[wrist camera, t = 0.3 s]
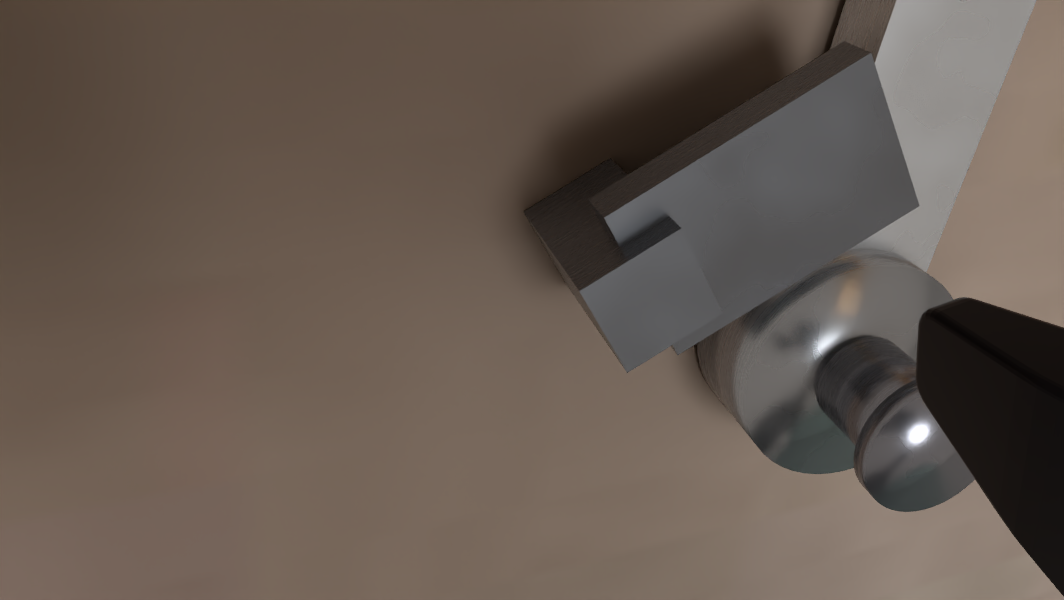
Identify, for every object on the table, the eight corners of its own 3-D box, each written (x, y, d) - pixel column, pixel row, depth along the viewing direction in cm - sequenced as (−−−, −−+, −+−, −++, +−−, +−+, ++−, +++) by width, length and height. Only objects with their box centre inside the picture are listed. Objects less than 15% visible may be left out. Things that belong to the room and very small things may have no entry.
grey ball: (926, 403, 26) (1005, 473, 23) (808, 457, 25) (875, 533, 23) (914, 297, 24) (998, 360, 21) (787, 353, 24) (857, 424, 21)
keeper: (833, 152, 25) (936, 216, 22) (581, 308, 25) (641, 397, 22) (784, 14, 23) (888, 60, 20) (507, 185, 23) (562, 261, 20)
